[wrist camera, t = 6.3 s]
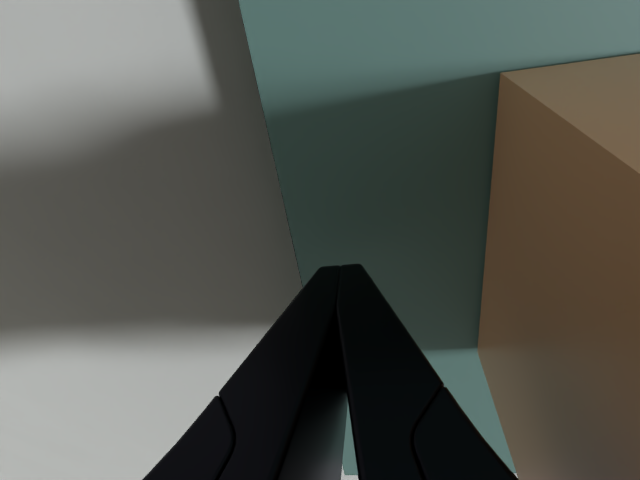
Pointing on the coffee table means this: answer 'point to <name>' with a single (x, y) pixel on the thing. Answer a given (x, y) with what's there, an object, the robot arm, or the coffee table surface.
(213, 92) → the coffee table surface
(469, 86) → the board
